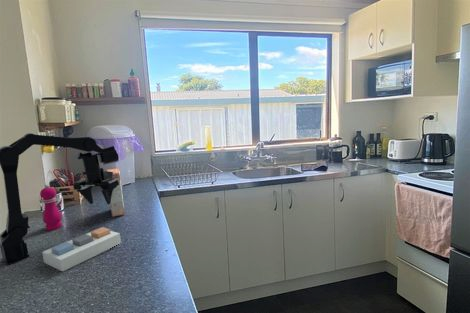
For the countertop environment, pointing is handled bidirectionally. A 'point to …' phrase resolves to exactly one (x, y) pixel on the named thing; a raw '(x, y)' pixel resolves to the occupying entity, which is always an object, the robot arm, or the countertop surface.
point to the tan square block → (100, 232)
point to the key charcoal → (82, 240)
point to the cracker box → (117, 195)
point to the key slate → (62, 248)
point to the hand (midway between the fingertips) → (100, 203)
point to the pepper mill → (50, 209)
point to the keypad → (81, 251)
